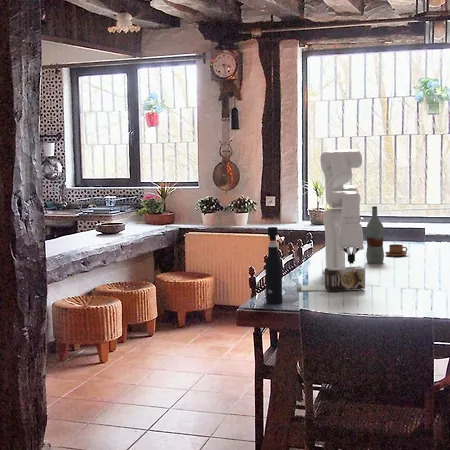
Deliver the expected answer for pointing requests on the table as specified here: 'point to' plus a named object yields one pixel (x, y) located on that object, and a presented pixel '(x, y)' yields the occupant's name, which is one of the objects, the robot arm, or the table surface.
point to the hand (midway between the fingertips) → (351, 263)
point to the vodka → (374, 239)
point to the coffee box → (344, 278)
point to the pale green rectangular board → (313, 288)
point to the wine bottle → (273, 270)
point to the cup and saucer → (396, 250)
